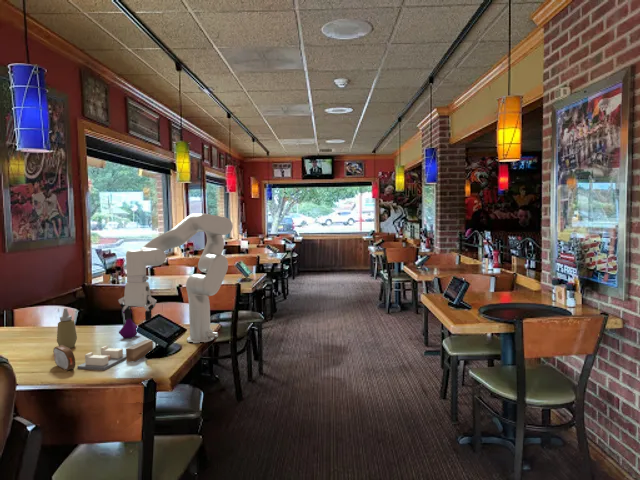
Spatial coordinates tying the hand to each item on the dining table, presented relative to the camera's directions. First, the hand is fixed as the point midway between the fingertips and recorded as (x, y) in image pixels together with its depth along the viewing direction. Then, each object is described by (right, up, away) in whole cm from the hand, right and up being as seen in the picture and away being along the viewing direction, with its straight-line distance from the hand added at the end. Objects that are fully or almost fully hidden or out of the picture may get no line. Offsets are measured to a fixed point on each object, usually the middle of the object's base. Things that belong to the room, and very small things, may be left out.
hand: (138, 319), depth 184 cm
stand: (-11, -17, -6) cm, 21 cm away
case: (0, -16, +1) cm, 16 cm away
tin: (-25, -17, -11) cm, 32 cm away
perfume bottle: (-18, -15, +32) cm, 40 cm away
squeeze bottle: (-39, -16, +16) cm, 45 cm away
